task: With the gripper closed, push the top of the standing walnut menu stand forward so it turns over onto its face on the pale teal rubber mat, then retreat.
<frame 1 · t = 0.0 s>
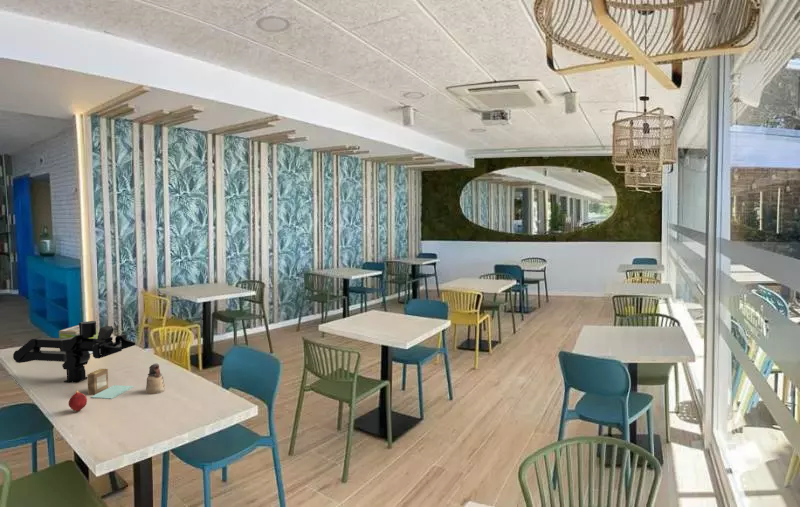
hand: (128, 346, 215), 17 cm above the table, tool horizontal, fingers open, 9 cm apart
figurine: (155, 391, 208), on the table
mat: (112, 392, 205), on the table
tea box: (79, 355, 257), on the table
menu stand: (98, 391, 206), on the table
onion: (78, 411, 185), on the table
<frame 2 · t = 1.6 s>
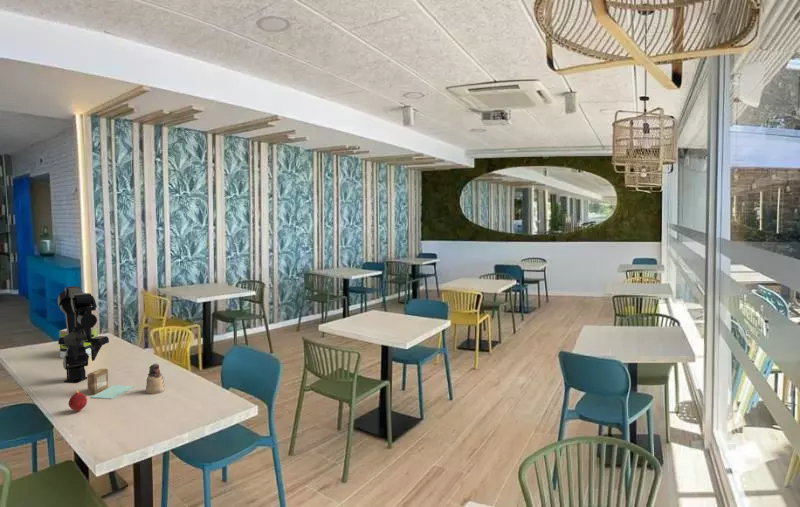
hand: (84, 360, 205), 13 cm above the table, tool pointing down, fingers open, 8 cm apart
nothing on the table moved.
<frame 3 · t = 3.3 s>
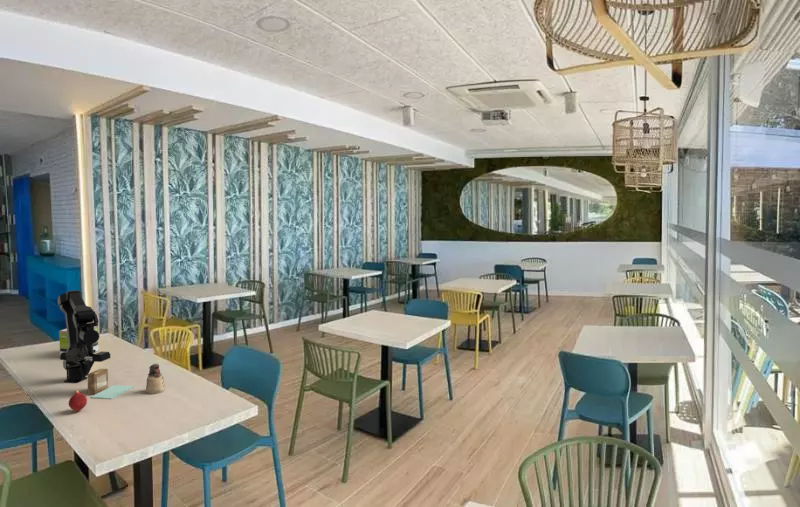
hand: (86, 375, 206), 7 cm above the table, tool pointing down, fingers closed
nothing on the table moved.
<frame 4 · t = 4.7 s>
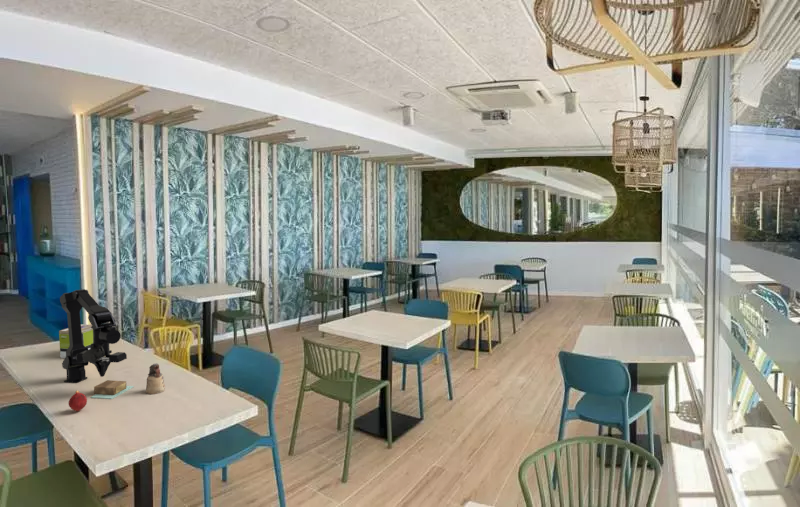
hand: (102, 376, 205), 7 cm above the table, tool pointing down, fingers closed
menu stand: (100, 386, 205), point 2 cm above the table, tilted 90°, touching mat
everything else where it was.
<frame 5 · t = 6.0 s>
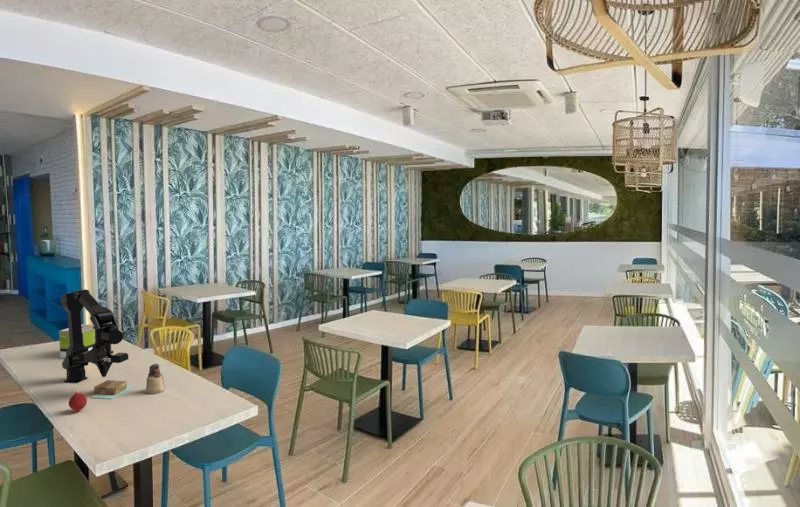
hand: (104, 376, 205), 6 cm above the table, tool pointing down, fingers closed
nothing on the table moved.
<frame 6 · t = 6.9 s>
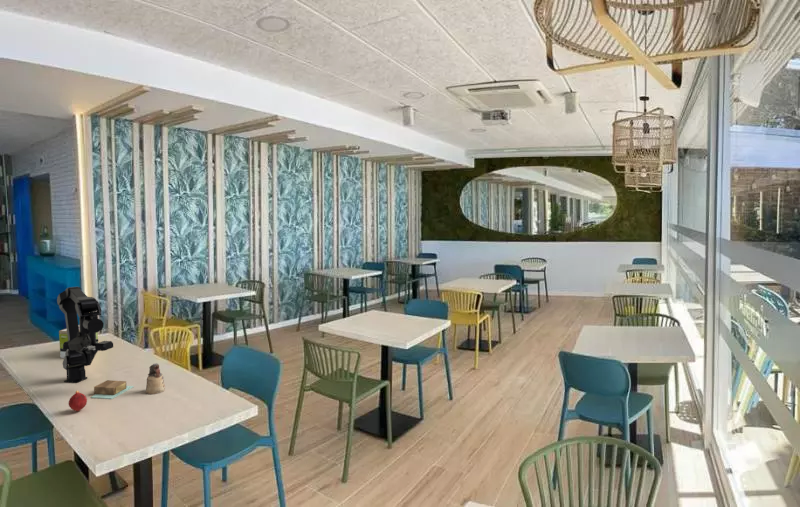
hand: (88, 365, 205), 11 cm above the table, tool pointing down, fingers closed
nothing on the table moved.
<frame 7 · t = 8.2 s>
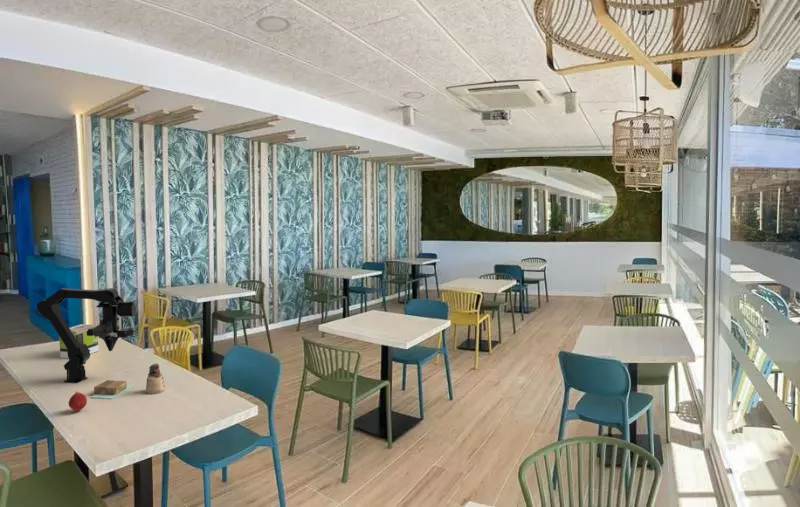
hand: (110, 350, 220), 13 cm above the table, tool pointing down, fingers closed
nothing on the table moved.
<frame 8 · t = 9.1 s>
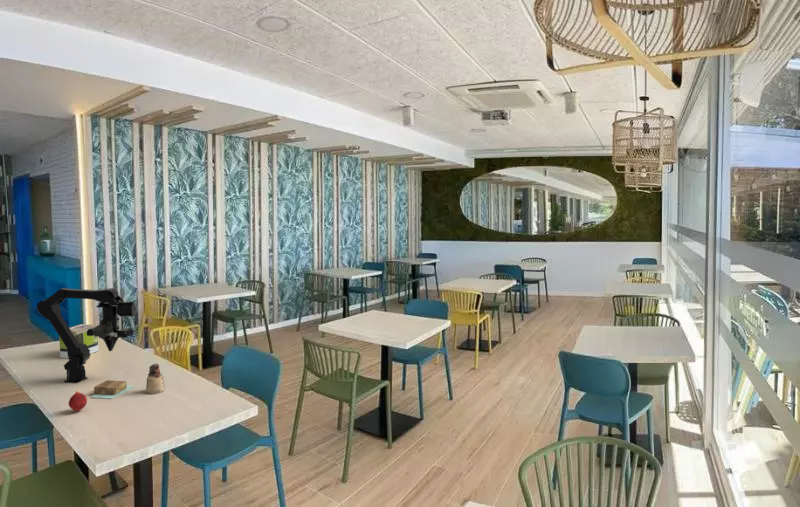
hand: (110, 350, 220), 13 cm above the table, tool pointing down, fingers closed
nothing on the table moved.
at the end: menu stand tilted 90°; menu stand inside the target area (4.8 cm from its centre), point 2.0 cm above the table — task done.
